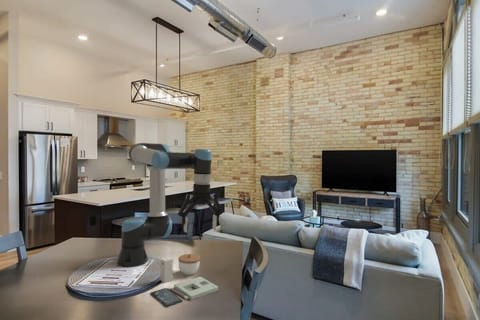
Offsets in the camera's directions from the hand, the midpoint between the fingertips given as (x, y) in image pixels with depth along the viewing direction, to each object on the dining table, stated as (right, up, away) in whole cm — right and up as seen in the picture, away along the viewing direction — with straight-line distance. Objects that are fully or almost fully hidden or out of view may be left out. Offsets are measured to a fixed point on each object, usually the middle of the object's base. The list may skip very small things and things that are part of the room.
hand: (200, 230), depth 132 cm
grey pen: (-8, -25, -8) cm, 28 cm away
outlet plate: (-1, -25, -3) cm, 25 cm away
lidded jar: (-8, -25, +14) cm, 30 cm away
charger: (-16, -25, +5) cm, 30 cm away
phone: (-12, -25, -12) cm, 31 cm away
